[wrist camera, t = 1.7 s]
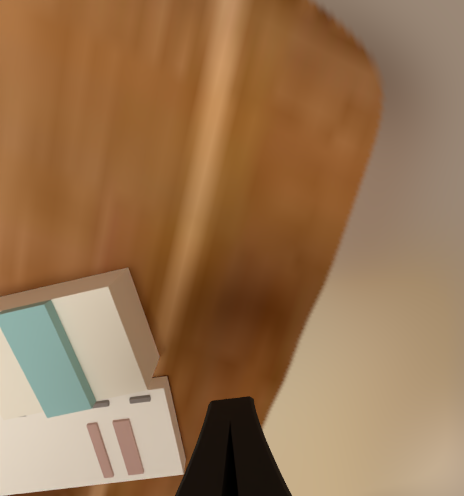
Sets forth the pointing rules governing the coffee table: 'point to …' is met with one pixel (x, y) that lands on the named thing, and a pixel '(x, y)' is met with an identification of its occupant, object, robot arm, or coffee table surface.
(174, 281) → the coffee table surface
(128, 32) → the coffee table surface
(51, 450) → the board
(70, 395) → the white and teal box
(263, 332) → the coffee table surface
